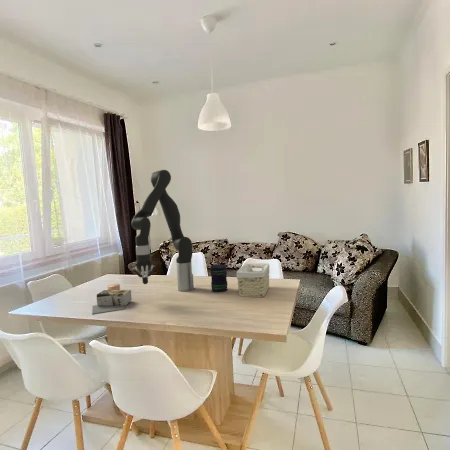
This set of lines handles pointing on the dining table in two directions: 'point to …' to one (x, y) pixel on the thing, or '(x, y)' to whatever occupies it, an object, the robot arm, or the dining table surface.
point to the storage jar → (218, 278)
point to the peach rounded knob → (114, 287)
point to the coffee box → (114, 297)
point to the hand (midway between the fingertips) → (145, 283)
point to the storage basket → (253, 280)
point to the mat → (106, 308)
